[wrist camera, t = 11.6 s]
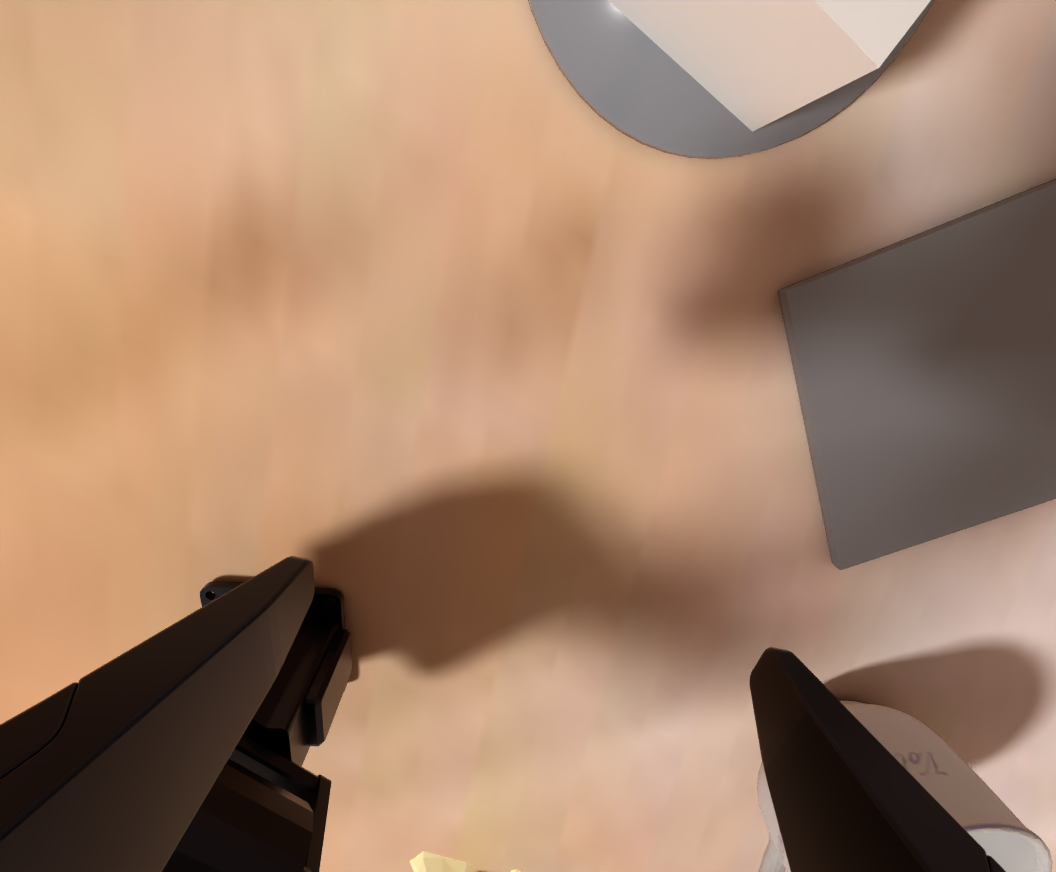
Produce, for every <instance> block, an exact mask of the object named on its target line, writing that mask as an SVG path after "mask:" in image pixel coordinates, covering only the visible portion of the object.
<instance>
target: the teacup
mask: <svg viewBox="0 0 1056 872" xmlns="http://www.w3.org/2000/svg"><path fill="white" fill-rule="evenodd" d="M840 702H841V703H842V704H843V705H844V706H845V707H846V708H847V709H848V710H849V711H850V712H851V713H852V714H853V715H854V716H855V717H856V718H857V719H858V720H859V721H860V722H861V723H862V724H863V725H864V727H865V728H866V729H867V730H868V731H869V732H870V733H871V734H872V735H873V736H874V737H875V738H876V739H877V740H878V741H879V742H880V743H881V744H882V745H883V746H884V747H885V748H886V749H887V750H888V751H889V752H890V753H891V754H892V755H893V756H894V757H895V758H896V759H897V760H898V761H899V762H900V763H901V764H902V765H903V766H904V768H905V769H906V770H907V771H908V772H909V773H910V774H911V775H912V776H913V777H914V778H915V779H916V780H917V781H918V782H919V783H920V784H921V785H922V786H923V787H924V788H925V789H926V790H927V791H928V792H929V793H930V794H931V795H932V796H933V797H934V798H935V799H936V800H937V801H938V802H939V803H940V804H941V805H942V806H943V807H944V809H945V810H946V811H947V812H948V813H949V814H950V815H951V816H952V817H953V818H954V819H955V820H956V821H957V822H958V823H959V824H960V825H961V826H962V827H963V828H964V829H965V830H966V831H967V832H968V833H969V834H970V835H971V836H972V837H973V838H974V839H975V840H976V841H977V842H978V843H979V844H980V845H981V846H982V847H983V849H984V850H985V851H986V854H987V855H989V856H991V857H992V858H993V859H994V860H995V861H996V862H997V863H998V864H999V865H1000V866H1001V867H1002V868H1003V869H1004V870H1005V871H1006V872H1051V871H1052V859H1051V855H1050V851H1049V849H1048V847H1047V846H1046V845H1045V843H1044V842H1043V841H1042V840H1041V838H1040V837H1039V836H1038V835H1036V834H1035V833H1033V832H1032V831H1031V830H1029V829H1028V828H1026V827H1025V826H1024V825H1023V824H1022V823H1021V821H1020V820H1019V819H1018V818H1017V817H1016V816H1015V815H1014V814H1013V813H1012V812H1011V810H1010V809H1009V808H1008V807H1007V806H1006V805H1005V804H1004V803H1003V802H1002V801H1001V800H1000V798H999V797H998V796H997V795H996V794H995V793H994V792H993V791H992V790H991V789H990V788H989V787H988V786H987V784H986V783H985V782H984V781H983V780H982V779H981V778H980V777H979V776H978V775H977V774H976V773H975V772H974V771H973V770H972V769H971V768H970V767H969V766H968V764H967V763H966V762H965V761H964V760H963V759H962V758H961V757H960V756H959V755H958V754H957V753H956V752H955V751H954V750H953V749H951V748H950V747H949V746H948V745H947V744H946V743H945V742H944V741H943V740H942V739H941V738H940V737H939V736H938V735H937V734H936V733H934V732H933V731H932V730H931V729H930V728H928V727H927V726H926V725H924V724H923V723H922V722H920V721H919V720H917V719H916V718H914V717H912V716H910V715H908V714H906V713H904V712H901V711H899V710H896V709H893V708H890V707H886V706H881V705H874V704H864V703H861V702H854V701H840ZM757 791H758V800H759V804H760V808H761V811H762V815H763V818H764V820H765V823H766V826H767V828H768V831H769V843H768V845H767V848H766V850H765V853H764V856H763V859H762V862H761V866H760V869H759V872H785V870H787V872H791V871H790V867H789V863H788V860H787V856H786V852H785V848H784V844H783V841H782V837H781V833H780V829H779V825H778V822H777V818H776V814H775V810H774V807H773V803H772V799H771V795H770V791H769V788H768V784H767V780H766V776H765V771H764V767H763V762H762V764H761V767H760V770H759V774H758V782H757Z"/></svg>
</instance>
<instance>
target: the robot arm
mask: <svg viewBox="0 0 1056 872" xmlns="http://www.w3.org/2000/svg"><path fill="white" fill-rule="evenodd" d="M212 592H214V593H215V594H214V593H212ZM200 598H201V604H202V608H200V609H198V610H197V611H195V612H193V613H192V614H190V615H188V616H187V617H185V618H183V619H181V620H180V621H178V622H176V623H175V624H173V625H171V626H169V627H168V628H166V629H164V630H163V631H161V632H159V633H158V634H156V635H154V636H152V637H151V638H149V639H147V640H146V641H144V642H142V643H141V644H139V645H137V646H135V647H134V648H132V649H130V650H129V651H127V652H125V653H123V654H122V655H120V656H118V657H117V658H115V659H113V660H112V661H110V662H108V663H106V664H105V665H103V666H101V667H100V668H98V669H96V670H95V671H93V672H91V673H89V674H88V675H86V676H84V677H83V678H81V679H80V680H79V682H78V683H76V682H75V683H72V684H70V685H69V686H67V687H65V688H64V689H62V690H60V691H58V692H57V693H55V694H53V695H52V696H50V697H48V698H46V699H45V700H43V701H41V702H39V703H38V704H36V705H34V706H32V707H31V708H29V709H27V710H25V711H24V712H22V713H20V714H18V715H17V716H15V717H13V718H11V719H9V720H8V721H6V722H4V723H2V724H1V725H0V872H319V868H320V861H321V854H322V846H323V839H324V832H325V825H326V817H327V810H328V803H329V795H330V788H331V781H330V780H329V779H327V778H325V777H324V776H322V775H318V776H316V775H315V774H313V773H311V772H310V771H308V770H306V769H304V768H303V767H302V765H303V762H304V760H305V757H306V755H307V752H308V750H309V747H310V746H319V745H321V744H322V743H323V742H324V741H325V739H326V736H327V734H328V731H329V729H330V726H331V723H332V721H333V718H334V716H335V713H336V710H337V708H338V705H339V702H340V700H341V697H342V695H343V692H344V691H345V688H346V685H347V682H348V679H349V676H350V674H351V671H352V651H351V633H350V631H349V630H348V629H345V613H344V597H343V594H342V593H341V592H340V591H339V590H337V589H330V588H315V587H314V571H313V563H312V561H311V560H309V559H306V558H301V557H296V556H290V557H287V558H285V559H284V560H282V561H280V562H278V563H277V564H275V565H273V566H272V567H270V568H268V569H267V570H265V571H263V572H261V573H260V574H258V575H256V576H255V577H253V578H251V579H250V580H248V581H246V582H244V583H232V582H215V581H214V582H209V583H207V584H206V585H205V586H204V588H203V589H202V590H201V591H200ZM329 598H331V599H333V600H335V601H331V600H329ZM750 690H751V696H752V702H753V708H754V714H755V720H756V726H757V732H758V738H759V744H760V750H761V756H762V762H763V767H764V771H765V776H766V780H767V784H768V788H769V791H770V795H771V799H772V803H773V807H774V810H775V814H776V818H777V822H778V825H779V829H780V833H781V837H782V841H783V844H784V848H785V852H786V856H787V860H788V863H789V867H790V871H791V872H1006V871H1005V870H1004V869H1003V868H1002V867H1001V866H1000V865H999V864H998V863H997V862H996V861H995V860H994V859H993V858H992V857H991V856H989V855H987V854H986V851H985V850H984V849H983V847H982V846H981V845H980V844H979V843H978V842H977V841H976V840H975V839H974V838H973V837H972V836H971V835H970V834H969V833H968V832H967V831H966V830H965V829H964V828H963V827H962V826H961V825H960V824H959V823H958V822H957V821H956V820H955V819H954V818H953V817H952V816H951V815H950V814H949V813H948V812H947V811H946V810H945V809H944V807H943V806H942V805H941V804H940V803H939V802H938V801H937V800H936V799H935V798H934V797H933V796H932V795H931V794H930V793H929V792H928V791H927V790H926V789H925V788H924V787H923V786H922V785H921V784H920V783H919V782H918V781H917V780H916V779H915V778H914V777H913V776H912V775H911V774H910V773H909V772H908V771H907V770H906V769H905V768H904V766H903V765H902V764H901V763H900V762H899V761H898V760H897V759H896V758H895V757H894V756H893V755H892V754H891V753H890V752H889V751H888V750H887V749H886V748H885V747H884V746H883V745H882V744H881V743H880V742H879V741H878V740H877V739H876V738H875V737H874V736H873V735H872V734H871V733H870V732H869V731H868V730H867V729H866V728H865V727H864V725H863V724H862V723H861V722H860V721H859V720H858V719H857V718H856V717H855V716H854V715H853V714H852V713H851V712H850V711H849V710H848V709H847V708H846V707H845V706H844V705H843V704H842V703H841V702H840V701H839V700H838V699H837V698H836V697H835V696H834V695H833V694H832V693H831V692H830V691H829V690H828V689H827V688H826V687H825V685H824V684H823V683H822V682H821V681H820V680H819V679H818V678H817V677H816V676H815V675H814V674H813V673H812V672H811V671H810V670H809V669H808V668H807V667H806V666H805V665H804V664H803V663H802V662H801V661H800V660H799V659H798V658H797V657H796V656H795V655H794V654H793V653H792V652H790V651H788V650H783V649H778V648H773V647H769V648H768V649H766V650H765V651H764V653H763V654H762V656H761V657H760V659H759V661H758V662H757V664H756V666H755V667H754V669H753V670H752V672H751V676H750Z"/></svg>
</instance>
